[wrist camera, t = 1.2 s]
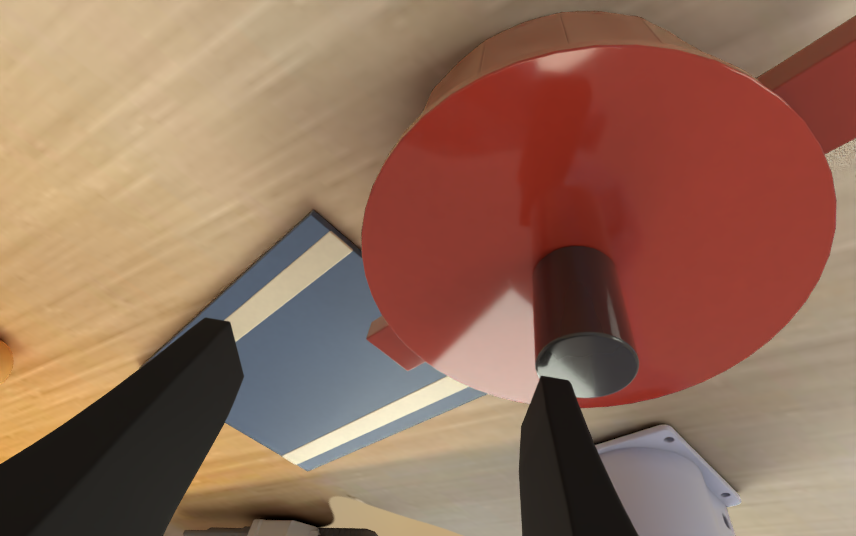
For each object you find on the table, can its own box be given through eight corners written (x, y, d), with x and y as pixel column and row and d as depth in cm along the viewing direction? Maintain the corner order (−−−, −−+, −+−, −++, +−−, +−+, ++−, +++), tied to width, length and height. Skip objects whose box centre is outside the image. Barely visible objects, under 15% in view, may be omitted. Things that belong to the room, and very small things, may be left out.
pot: (877, 156, 16) (998, 251, 12) (486, 349, 25) (479, 442, 21) (718, -181, 12) (824, -210, 8) (311, 198, 21) (260, 278, 17)
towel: (510, 378, 27) (510, 385, 26) (309, 466, 36) (307, 472, 36) (313, 209, 21) (310, 214, 21) (140, 366, 31) (136, 371, 31)
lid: (885, 286, 14) (1005, 420, 11) (527, 420, 21) (529, 529, 17) (668, -118, 9) (757, -114, 6) (291, 226, 16) (227, 324, 12)
